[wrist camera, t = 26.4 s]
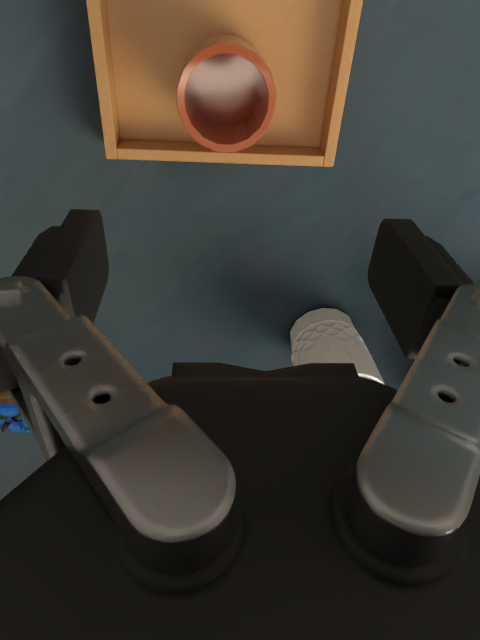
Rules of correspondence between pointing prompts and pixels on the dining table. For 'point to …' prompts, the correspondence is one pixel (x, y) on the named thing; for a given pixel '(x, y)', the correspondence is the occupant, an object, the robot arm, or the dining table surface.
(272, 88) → the terracotta cup
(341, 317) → the white cup
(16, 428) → the dessert
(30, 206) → the dining table surface
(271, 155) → the serving tray
